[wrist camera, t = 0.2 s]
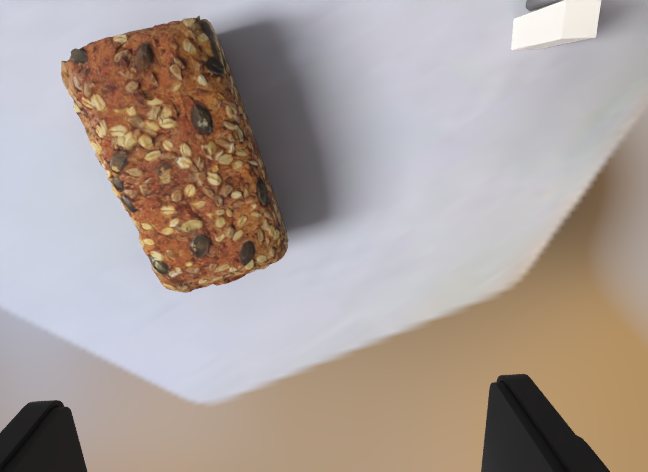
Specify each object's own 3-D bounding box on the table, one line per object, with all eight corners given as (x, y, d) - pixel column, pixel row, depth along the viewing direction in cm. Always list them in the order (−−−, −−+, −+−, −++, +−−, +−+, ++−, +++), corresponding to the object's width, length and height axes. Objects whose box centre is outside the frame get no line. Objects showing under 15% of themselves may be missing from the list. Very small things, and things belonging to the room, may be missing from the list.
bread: (104, 64, 36) (31, 53, 26) (226, 26, 35) (197, 0, 26) (188, 264, 41) (153, 314, 32) (294, 233, 41) (291, 275, 31)
